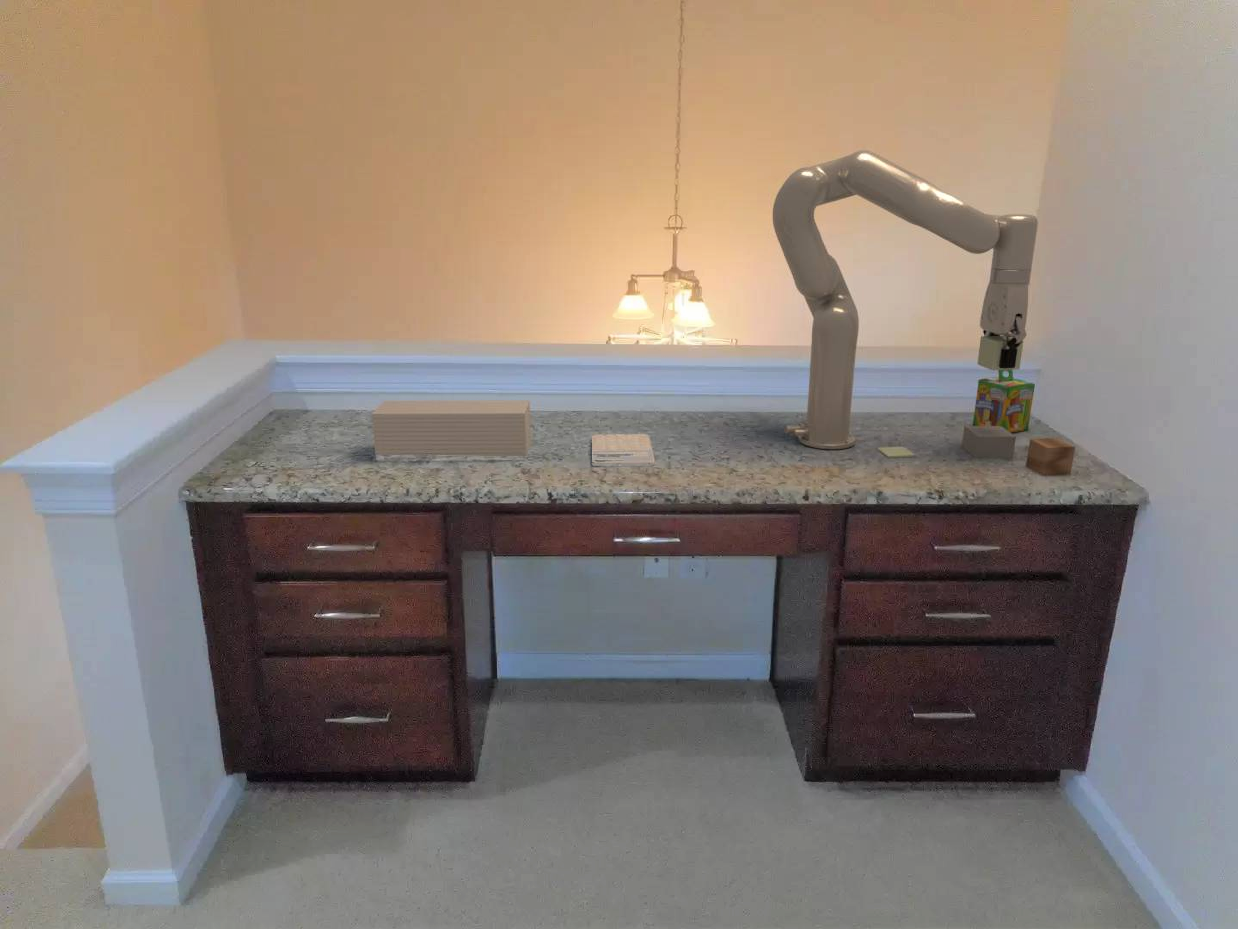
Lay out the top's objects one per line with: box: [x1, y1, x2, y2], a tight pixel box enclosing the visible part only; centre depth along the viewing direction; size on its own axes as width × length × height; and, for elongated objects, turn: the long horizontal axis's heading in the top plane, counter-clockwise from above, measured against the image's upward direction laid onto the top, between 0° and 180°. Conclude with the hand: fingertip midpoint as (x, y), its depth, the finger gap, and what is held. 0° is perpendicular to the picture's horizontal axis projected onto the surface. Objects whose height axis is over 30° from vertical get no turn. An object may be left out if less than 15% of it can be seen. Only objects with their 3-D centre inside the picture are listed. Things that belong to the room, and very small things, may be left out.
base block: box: [961, 425, 1017, 459], centre depth 188 cm, size 8×8×5 cm
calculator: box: [591, 433, 656, 464], centre depth 189 cm, size 13×20×2 cm, turn 2°
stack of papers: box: [371, 399, 532, 456], centre depth 187 cm, size 32×11×11 cm, turn 90°
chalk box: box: [972, 370, 1036, 434], centre depth 204 cm, size 9×9×15 cm
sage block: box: [977, 335, 1024, 371], centre depth 181 cm, size 6×6×6 cm
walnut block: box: [1025, 437, 1076, 477], centre depth 176 cm, size 6×6×6 cm
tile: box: [876, 446, 916, 459], centre depth 188 cm, size 6×6×1 cm
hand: (998, 363), depth 181 cm, fingers closed on sage block, 6 cm apart
